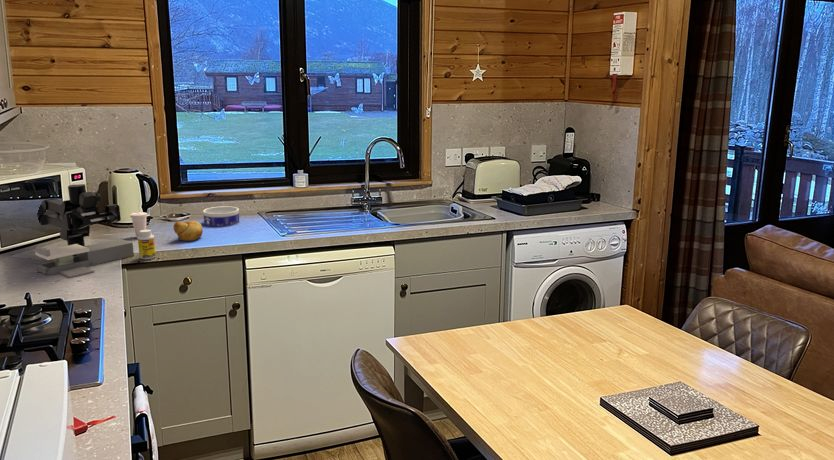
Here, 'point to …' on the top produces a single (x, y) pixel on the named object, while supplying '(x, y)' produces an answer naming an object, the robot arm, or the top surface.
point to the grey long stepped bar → (92, 256)
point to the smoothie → (139, 221)
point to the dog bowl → (221, 216)
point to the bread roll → (188, 230)
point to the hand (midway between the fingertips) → (104, 220)
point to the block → (63, 260)
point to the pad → (76, 272)
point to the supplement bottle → (146, 245)
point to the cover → (60, 251)
